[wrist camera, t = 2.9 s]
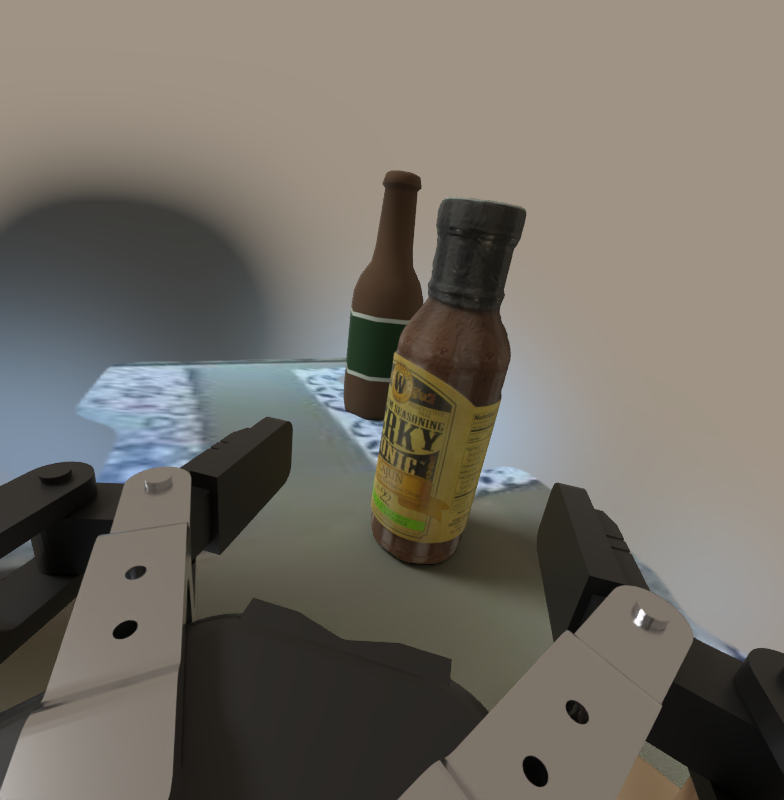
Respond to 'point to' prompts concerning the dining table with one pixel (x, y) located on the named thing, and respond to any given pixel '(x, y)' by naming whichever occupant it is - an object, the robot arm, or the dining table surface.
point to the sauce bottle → (446, 385)
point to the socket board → (653, 785)
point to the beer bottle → (383, 301)
